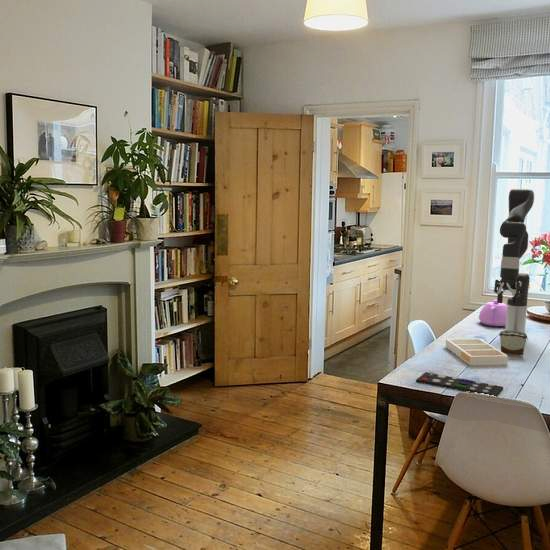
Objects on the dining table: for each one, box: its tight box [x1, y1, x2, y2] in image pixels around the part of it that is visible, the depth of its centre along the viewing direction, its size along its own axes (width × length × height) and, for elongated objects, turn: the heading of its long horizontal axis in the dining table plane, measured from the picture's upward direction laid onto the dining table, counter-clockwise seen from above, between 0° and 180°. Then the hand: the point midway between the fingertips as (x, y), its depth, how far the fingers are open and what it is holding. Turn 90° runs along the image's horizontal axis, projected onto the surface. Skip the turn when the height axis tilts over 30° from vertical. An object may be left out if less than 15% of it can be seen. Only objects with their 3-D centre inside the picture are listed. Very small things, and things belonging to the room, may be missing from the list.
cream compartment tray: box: [445, 338, 509, 366], centre depth 271 cm, size 29×17×4 cm, turn 5°
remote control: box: [415, 371, 504, 397], centre depth 231 cm, size 11×30×2 cm, turn 57°
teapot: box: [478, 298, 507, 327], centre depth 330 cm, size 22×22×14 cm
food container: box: [498, 330, 528, 357], centre depth 275 cm, size 12×6×10 cm, turn 65°
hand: (506, 304), depth 264 cm, fingers open, 8 cm apart
